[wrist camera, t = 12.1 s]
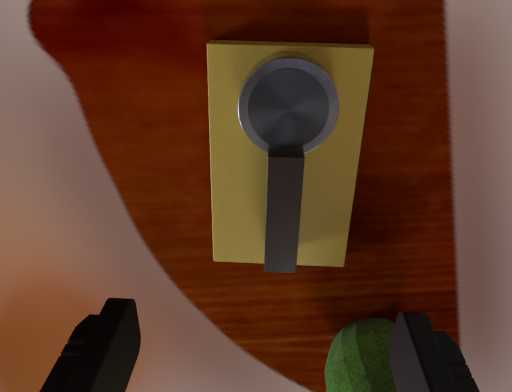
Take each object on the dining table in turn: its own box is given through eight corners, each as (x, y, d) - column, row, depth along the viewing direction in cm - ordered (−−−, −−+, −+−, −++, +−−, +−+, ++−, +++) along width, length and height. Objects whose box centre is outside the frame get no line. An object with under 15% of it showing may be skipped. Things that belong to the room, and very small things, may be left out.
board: (209, 39, 27) (206, 43, 26) (370, 44, 27) (374, 48, 26) (215, 250, 35) (213, 261, 33) (341, 255, 34) (343, 267, 33)
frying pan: (240, 50, 26) (235, 59, 23) (340, 52, 26) (348, 62, 23) (239, 244, 33) (236, 270, 30) (320, 247, 32) (324, 274, 30)
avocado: (301, 330, 38) (310, 469, 28) (372, 281, 35) (413, 415, 25) (359, 377, 41) (388, 521, 30) (430, 334, 38) (489, 477, 27)
